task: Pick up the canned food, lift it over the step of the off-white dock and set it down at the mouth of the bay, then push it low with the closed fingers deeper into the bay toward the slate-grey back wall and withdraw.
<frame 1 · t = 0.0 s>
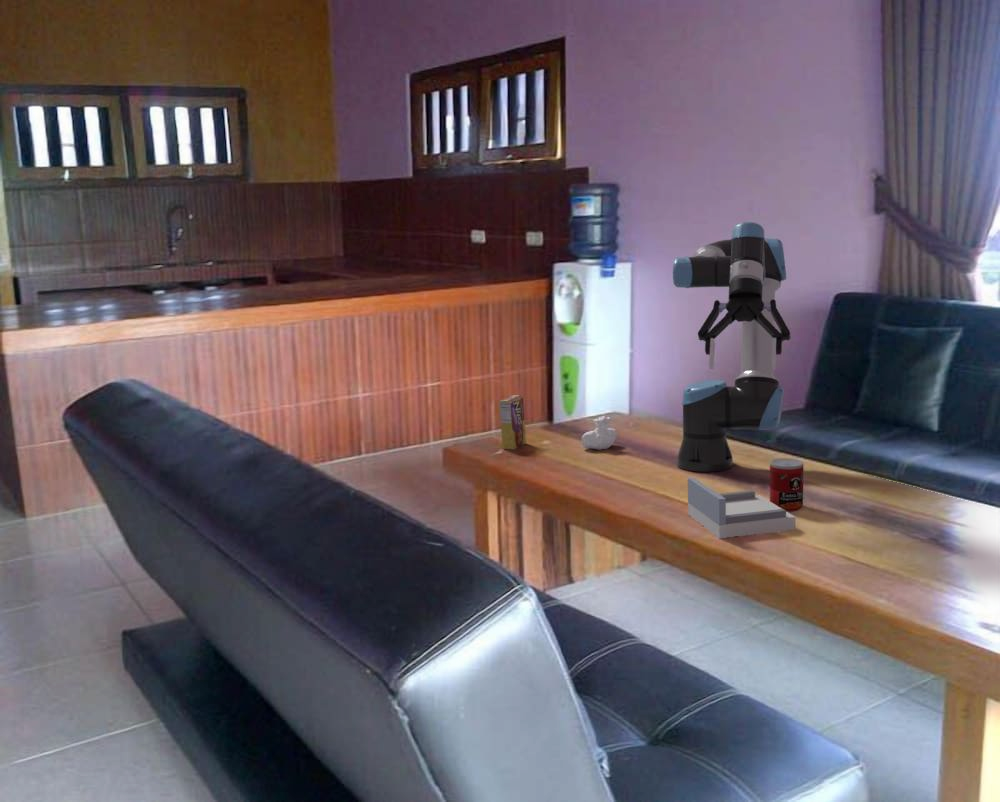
hand: (742, 366, 226), 36 cm above the table, tool tilted 35°, fingers open, 13 cm apart
canned food: (786, 507, 242), on the table
dock: (740, 522, 233), on the table
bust: (601, 449, 306), on the table
candy box: (514, 446, 314), on the table
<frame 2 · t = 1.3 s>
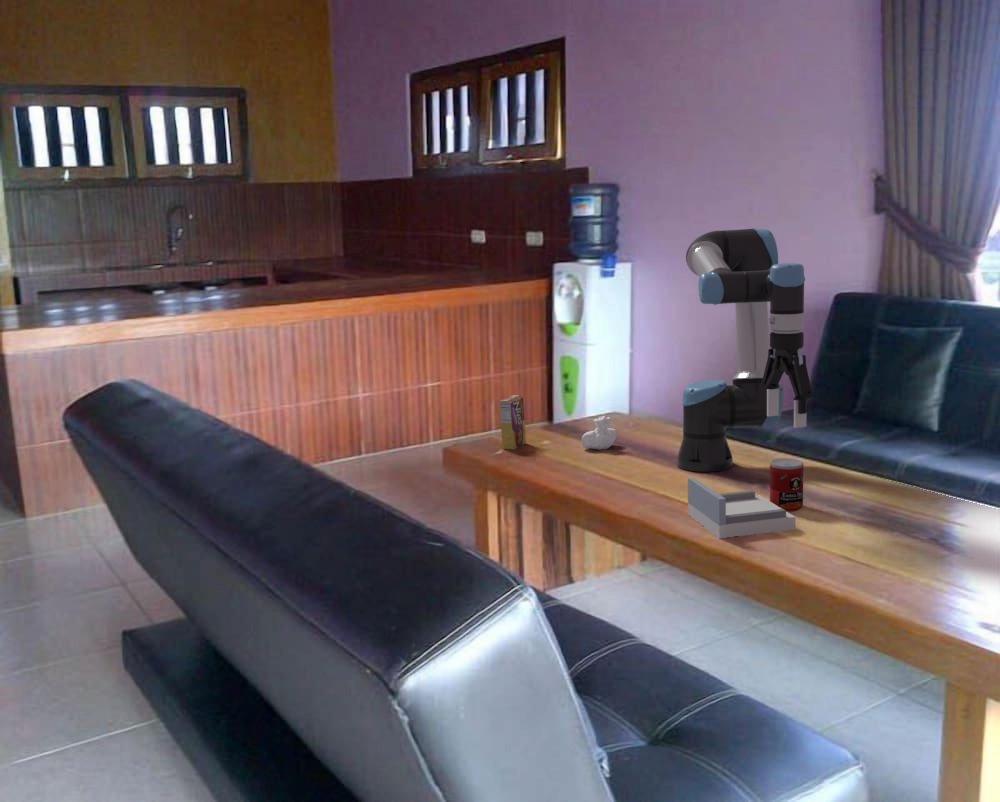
hand: (786, 421, 238), 21 cm above the table, tool pointing down, fingers open, 13 cm apart
nothing on the table moved.
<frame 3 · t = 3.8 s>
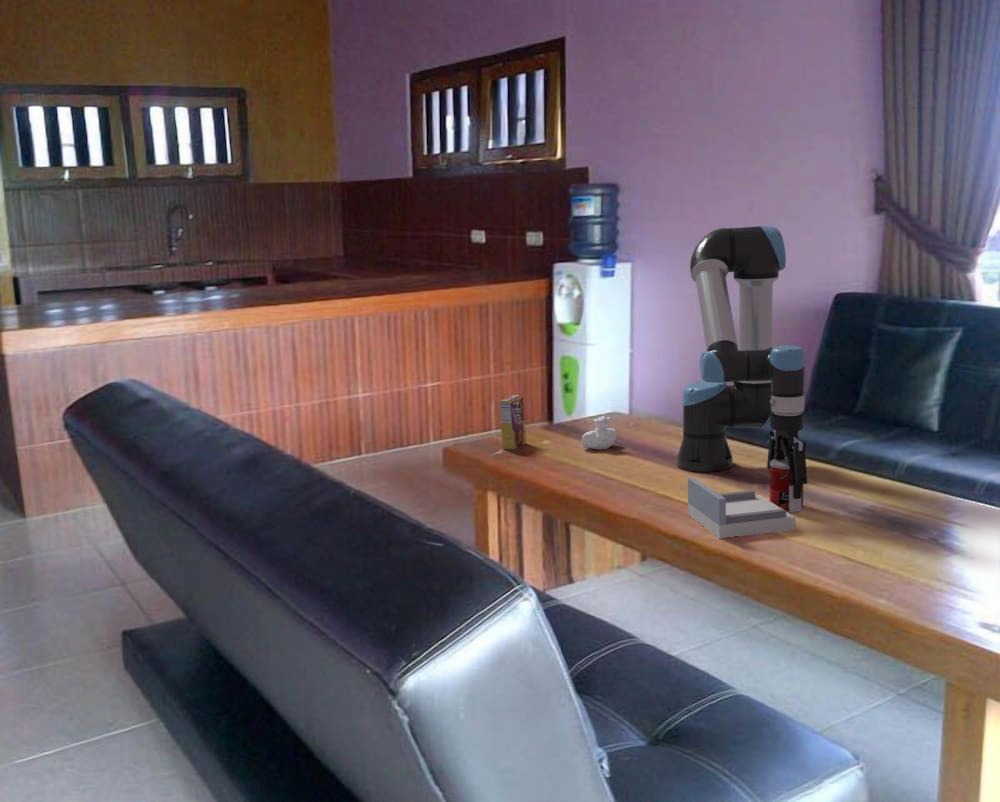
hand: (786, 505, 242), 0 cm above the table, tool pointing down, fingers closed on canned food, 8 cm apart
canned food: (786, 507, 242), on the table, touching gripper
everything else where it was.
when the fingers open (5 cm above the table, at t = 9.4 s): canned food drops 2 cm, resting on dock.
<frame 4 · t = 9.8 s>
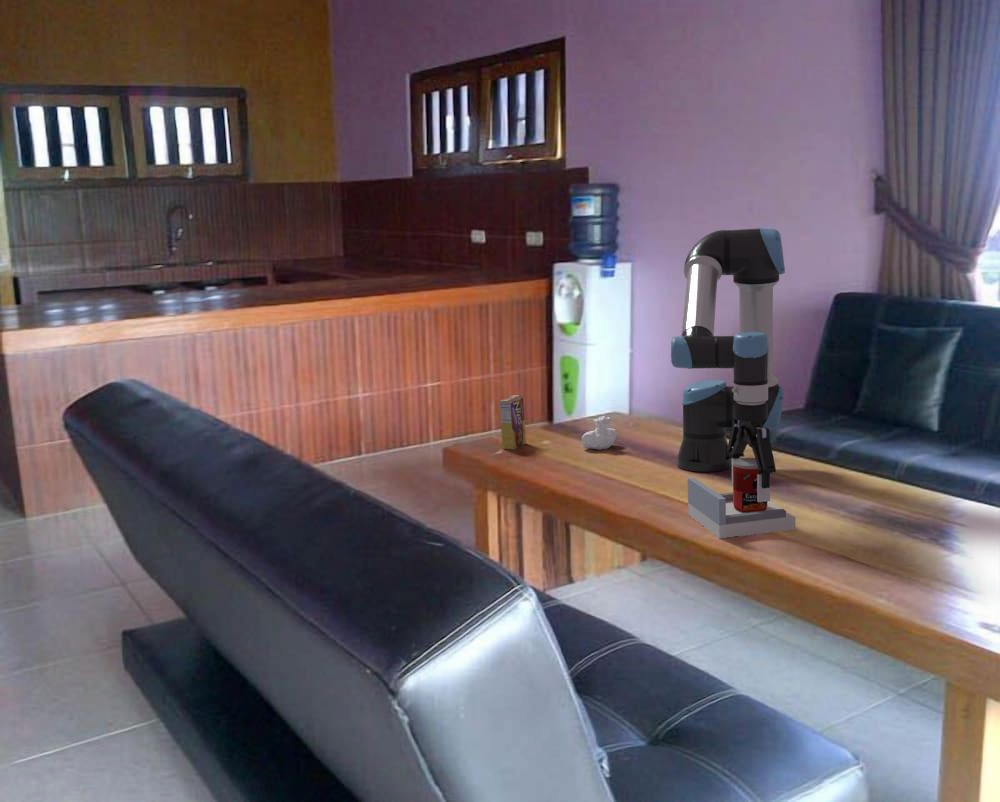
hand: (750, 493, 232), 7 cm above the table, tool pointing down, fingers open, 13 cm apart
canned food: (750, 509, 233), point 3 cm above the table, touching dock
everything else where it was.
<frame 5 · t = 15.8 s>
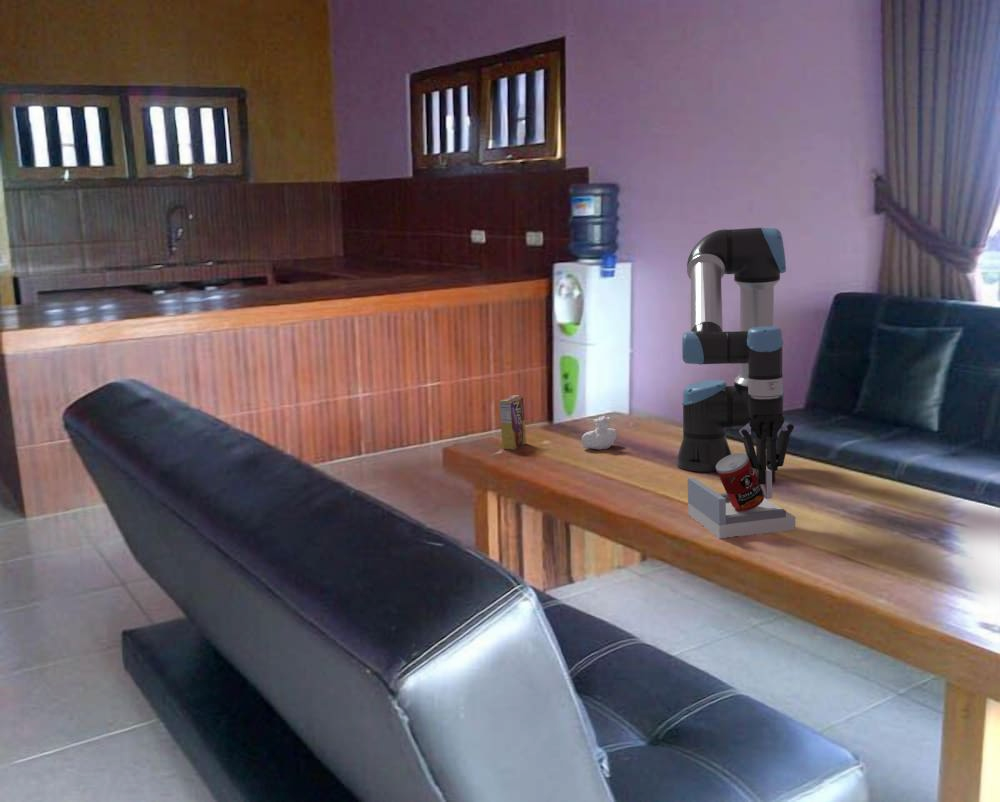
hand: (766, 497, 232), 5 cm above the table, tool pointing down, fingers closed
canned food: (749, 502, 232), point 4 cm above the table, touching dock, gripper, hand
everything else where it was.
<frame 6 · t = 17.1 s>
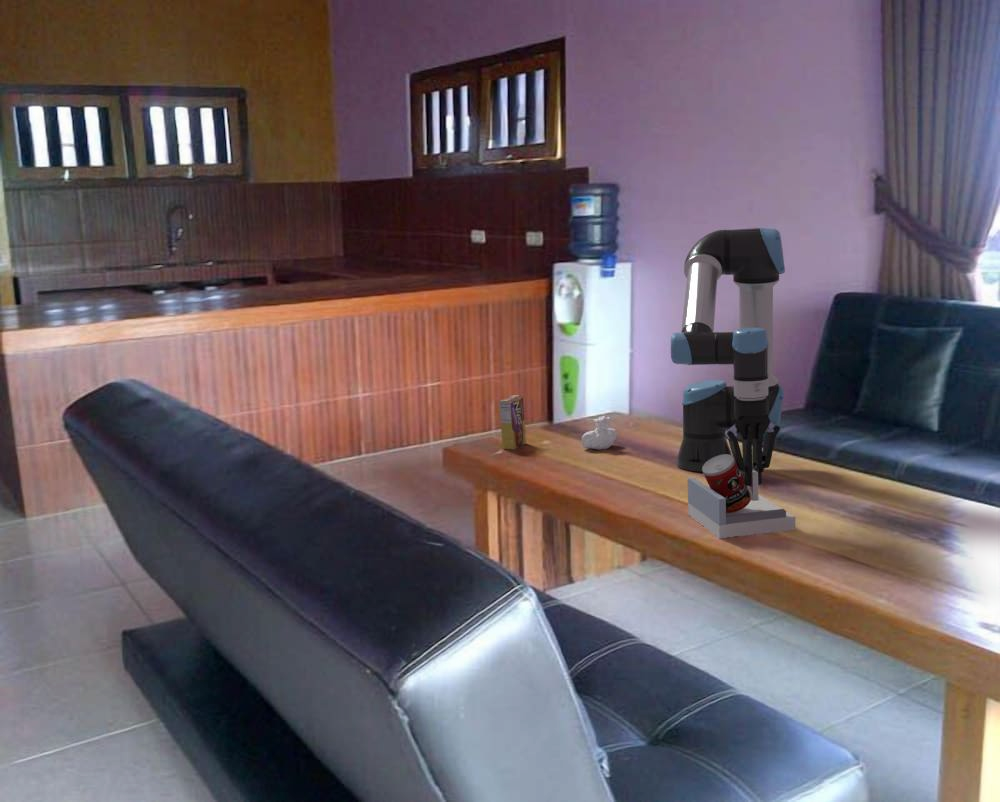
hand: (753, 498, 232), 5 cm above the table, tool pointing down, fingers closed
canned food: (736, 504, 232), point 4 cm above the table, touching dock, gripper, hand
everything else where it was.
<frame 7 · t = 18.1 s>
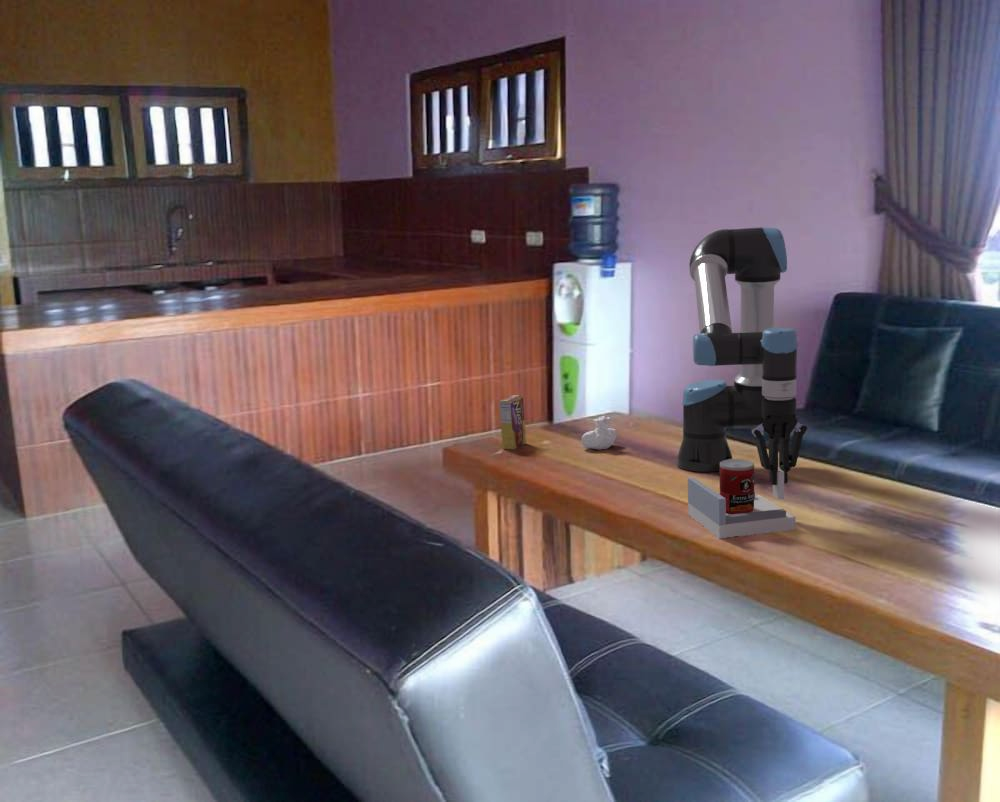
hand: (778, 497, 234), 5 cm above the table, tool pointing down, fingers closed
canned food: (736, 510, 232), point 3 cm above the table, touching dock
everything else where it was.
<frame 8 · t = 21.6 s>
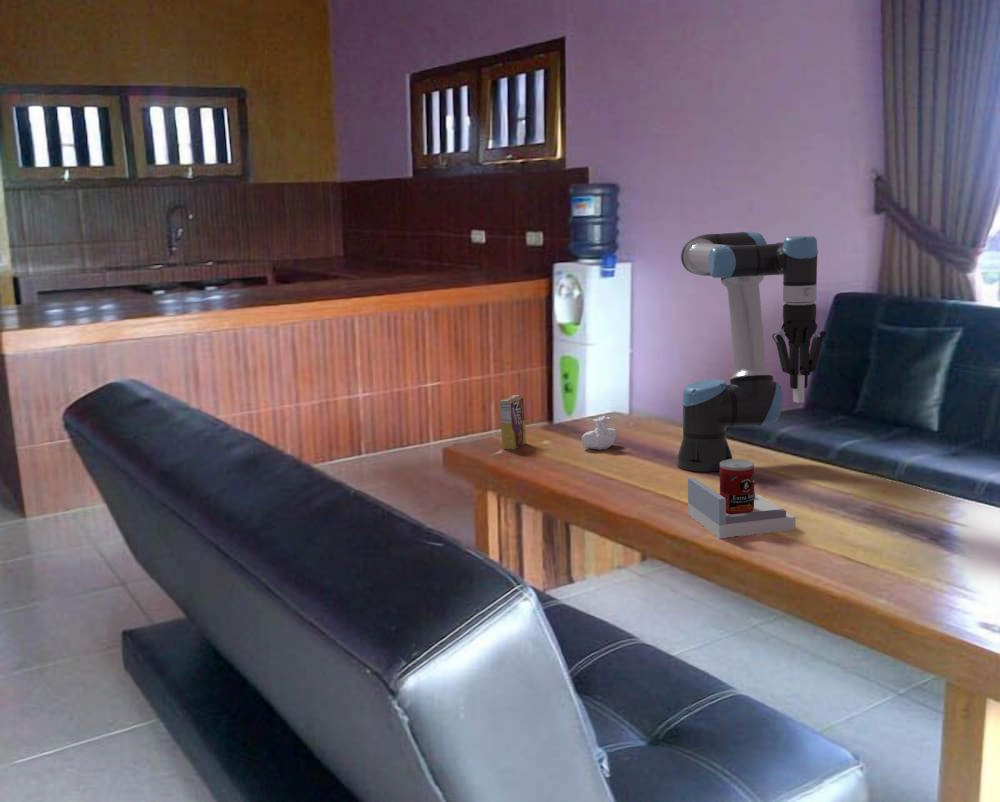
hand: (798, 401, 242), 24 cm above the table, tool pointing down, fingers closed
nothing on the table moved.
at the end: canned food inside the target area (2.3 cm from its centre), point 2.8 cm above the table; canned food tilted 0°; the gripper is holding nothing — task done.
